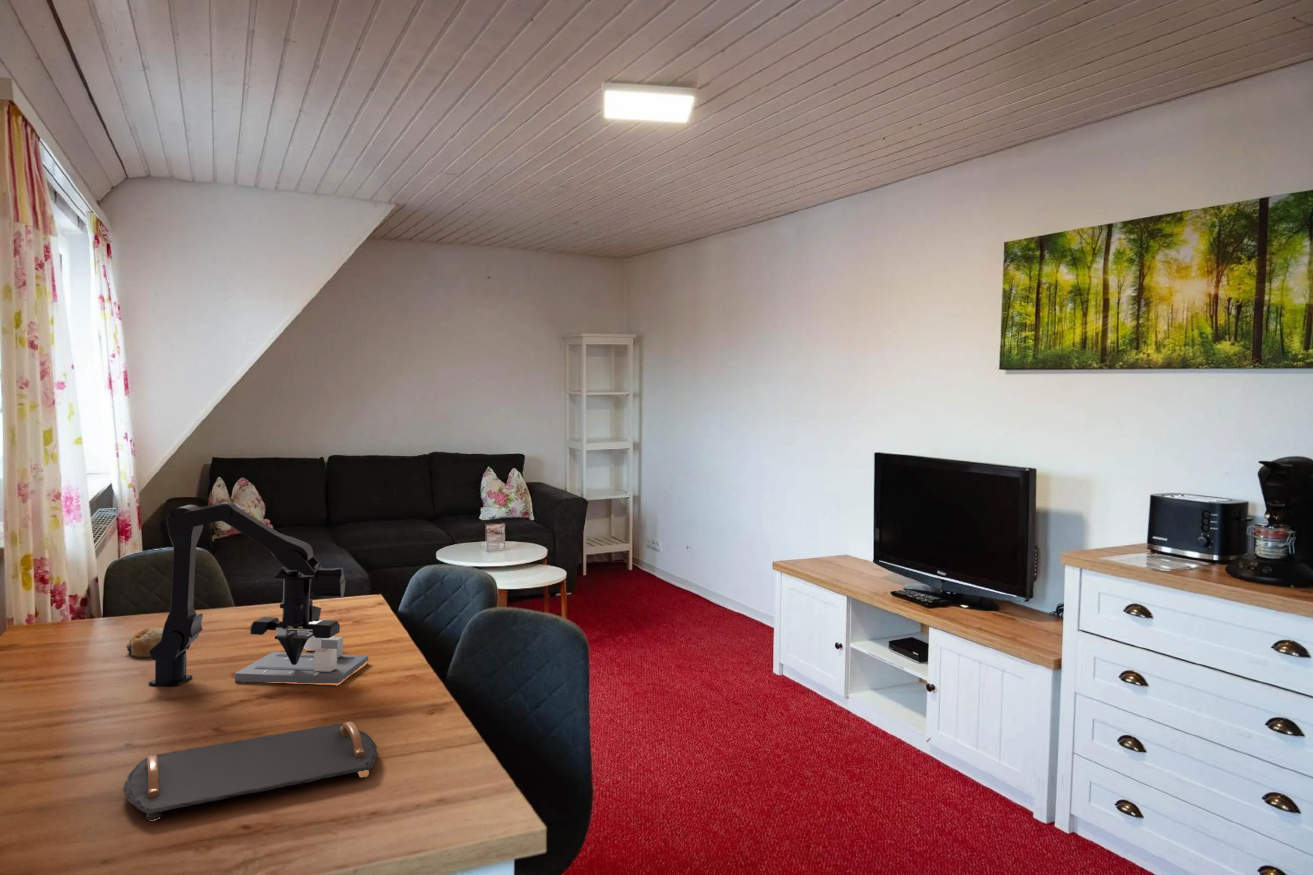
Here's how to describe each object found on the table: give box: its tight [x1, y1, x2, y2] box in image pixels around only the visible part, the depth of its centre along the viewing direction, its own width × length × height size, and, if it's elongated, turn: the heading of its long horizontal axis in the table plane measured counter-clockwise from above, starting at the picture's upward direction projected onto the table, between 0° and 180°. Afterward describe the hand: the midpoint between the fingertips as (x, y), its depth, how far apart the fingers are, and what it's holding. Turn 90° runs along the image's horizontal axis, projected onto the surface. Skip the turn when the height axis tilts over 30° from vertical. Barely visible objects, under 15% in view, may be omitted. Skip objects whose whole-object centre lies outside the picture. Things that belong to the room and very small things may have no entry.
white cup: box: [301, 619, 323, 651], centre depth 217 cm, size 7×7×7 cm
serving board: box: [123, 721, 378, 820], centre depth 143 cm, size 39×23×6 cm, turn 122°
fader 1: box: [321, 635, 344, 658], centre depth 203 cm, size 3×4×4 cm
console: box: [234, 651, 369, 683], centre depth 198 cm, size 17×24×2 cm
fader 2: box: [313, 648, 337, 672], centre depth 193 cm, size 3×4×4 cm
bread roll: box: [125, 627, 164, 658], centre depth 210 cm, size 10×10×8 cm
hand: (294, 664), depth 193 cm, fingers closed
